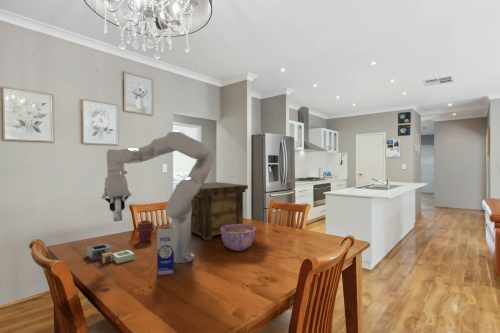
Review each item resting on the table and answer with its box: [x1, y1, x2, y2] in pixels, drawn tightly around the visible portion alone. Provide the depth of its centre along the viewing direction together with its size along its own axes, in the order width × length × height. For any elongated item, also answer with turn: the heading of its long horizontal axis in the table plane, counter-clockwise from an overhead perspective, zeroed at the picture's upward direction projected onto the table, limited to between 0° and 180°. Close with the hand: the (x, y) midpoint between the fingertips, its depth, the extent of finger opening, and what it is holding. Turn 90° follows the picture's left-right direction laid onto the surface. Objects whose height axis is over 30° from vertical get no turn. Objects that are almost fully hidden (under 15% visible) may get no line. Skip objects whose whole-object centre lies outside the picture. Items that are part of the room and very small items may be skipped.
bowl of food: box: [220, 223, 257, 252], centre depth 150 cm, size 20×20×12 cm
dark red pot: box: [136, 219, 155, 243], centre depth 164 cm, size 12×10×10 cm
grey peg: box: [112, 196, 123, 222], centre depth 134 cm, size 4×4×12 cm
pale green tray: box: [112, 249, 136, 264], centre depth 133 cm, size 8×8×3 cm
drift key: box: [99, 251, 113, 264], centre depth 132 cm, size 10×4×4 cm, turn 45°
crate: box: [175, 181, 249, 241], centre depth 183 cm, size 35×35×33 cm
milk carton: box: [156, 226, 175, 277], centre depth 118 cm, size 7×7×20 cm
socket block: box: [86, 242, 113, 261], centre depth 138 cm, size 9×9×4 cm
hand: (117, 209), depth 134 cm, fingers closed on grey peg, 4 cm apart
